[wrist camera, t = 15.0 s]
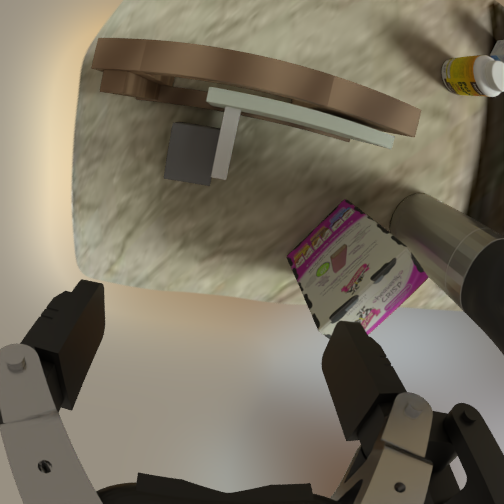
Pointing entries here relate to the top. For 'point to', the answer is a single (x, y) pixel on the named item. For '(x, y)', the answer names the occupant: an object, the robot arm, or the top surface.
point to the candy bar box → (353, 270)
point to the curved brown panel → (242, 82)
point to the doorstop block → (191, 153)
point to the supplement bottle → (474, 76)
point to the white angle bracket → (280, 111)
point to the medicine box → (498, 51)
